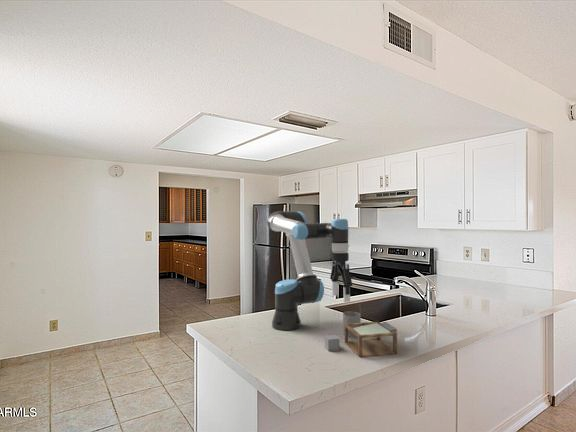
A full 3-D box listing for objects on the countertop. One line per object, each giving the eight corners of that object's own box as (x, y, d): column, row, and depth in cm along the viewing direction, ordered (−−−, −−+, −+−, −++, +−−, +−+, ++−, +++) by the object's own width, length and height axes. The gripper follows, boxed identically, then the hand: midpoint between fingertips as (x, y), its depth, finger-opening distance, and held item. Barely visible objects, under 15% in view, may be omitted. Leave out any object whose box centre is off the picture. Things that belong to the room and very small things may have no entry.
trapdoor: (362, 341, 144) (361, 337, 144) (350, 331, 157) (349, 327, 157) (398, 333, 148) (398, 329, 148) (384, 324, 160) (383, 320, 160)
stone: (328, 351, 149) (328, 339, 149) (324, 347, 154) (324, 335, 154) (339, 350, 150) (339, 338, 150) (335, 346, 155) (335, 334, 155)
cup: (348, 330, 175) (348, 310, 175) (363, 334, 170) (363, 313, 170) (339, 335, 169) (339, 314, 169) (355, 339, 163) (355, 317, 163)
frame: (359, 357, 142) (359, 336, 142) (344, 342, 158) (344, 323, 158) (397, 353, 145) (397, 333, 145) (378, 340, 162) (378, 321, 162)
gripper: (359, 254, 151) (360, 303, 151) (337, 249, 176) (338, 292, 175) (343, 254, 150) (344, 305, 149) (323, 250, 174) (323, 293, 174)
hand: (340, 298), depth 162 cm, fingers open, 13 cm apart
